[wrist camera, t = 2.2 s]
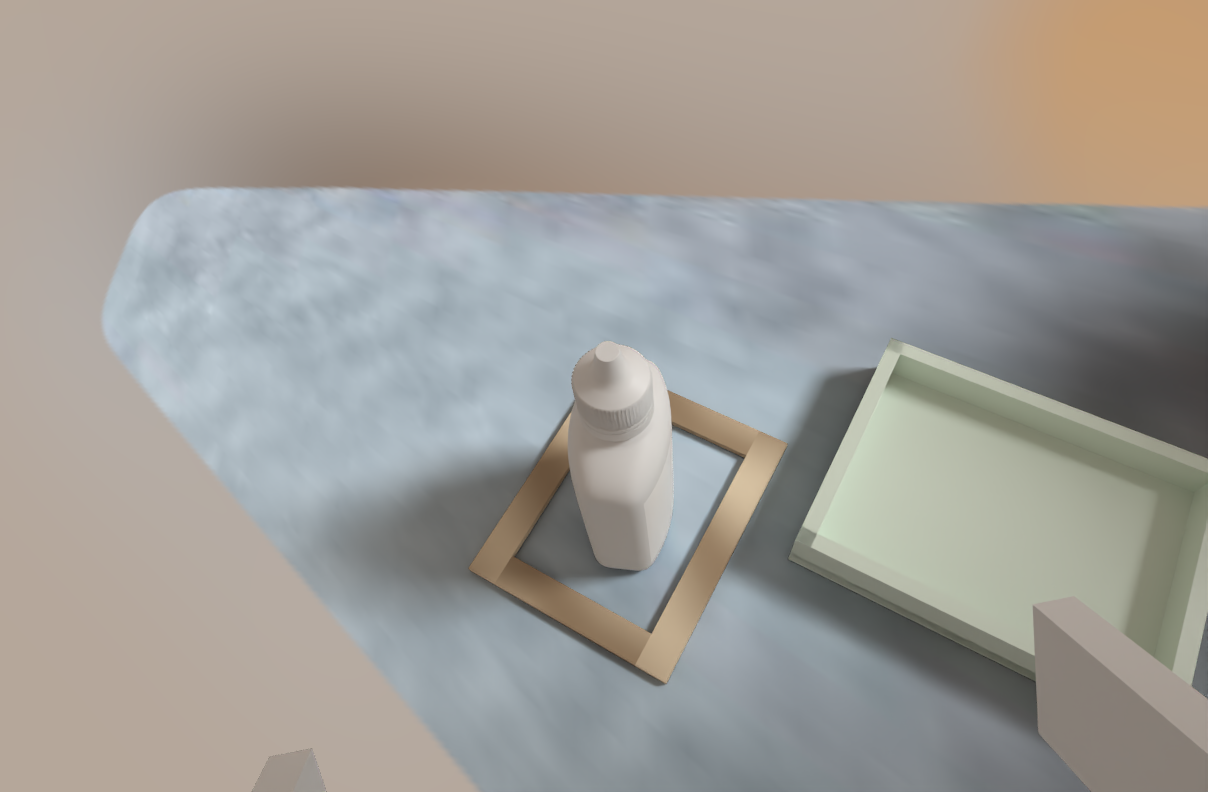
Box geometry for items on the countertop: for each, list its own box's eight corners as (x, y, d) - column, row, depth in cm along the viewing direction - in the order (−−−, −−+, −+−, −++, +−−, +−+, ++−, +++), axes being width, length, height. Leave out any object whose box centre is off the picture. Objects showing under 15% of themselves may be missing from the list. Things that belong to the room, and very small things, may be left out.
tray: (879, 366, 34) (891, 338, 32) (1202, 494, 30) (1238, 470, 28) (788, 559, 30) (795, 539, 28) (1144, 735, 26) (1182, 727, 24)
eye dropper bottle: (713, 484, 32) (727, 318, 22) (634, 592, 30) (609, 466, 20) (629, 431, 34) (605, 253, 23) (549, 531, 32) (484, 385, 22)
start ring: (604, 365, 36) (604, 362, 35) (786, 446, 33) (787, 443, 33) (469, 570, 31) (468, 568, 31) (666, 684, 29) (665, 682, 28)
